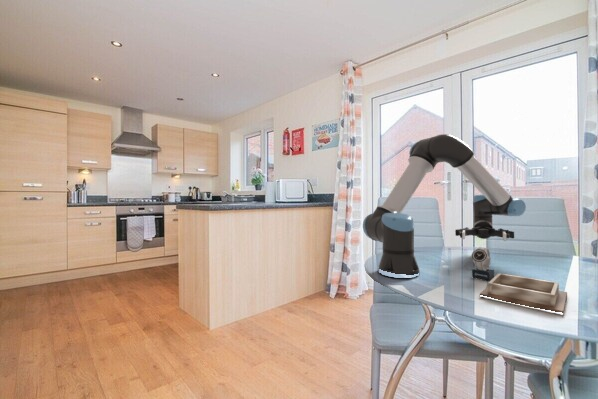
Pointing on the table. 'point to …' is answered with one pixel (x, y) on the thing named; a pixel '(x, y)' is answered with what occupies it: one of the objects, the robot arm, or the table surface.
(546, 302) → the board
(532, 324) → the table surface
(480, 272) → the watch
